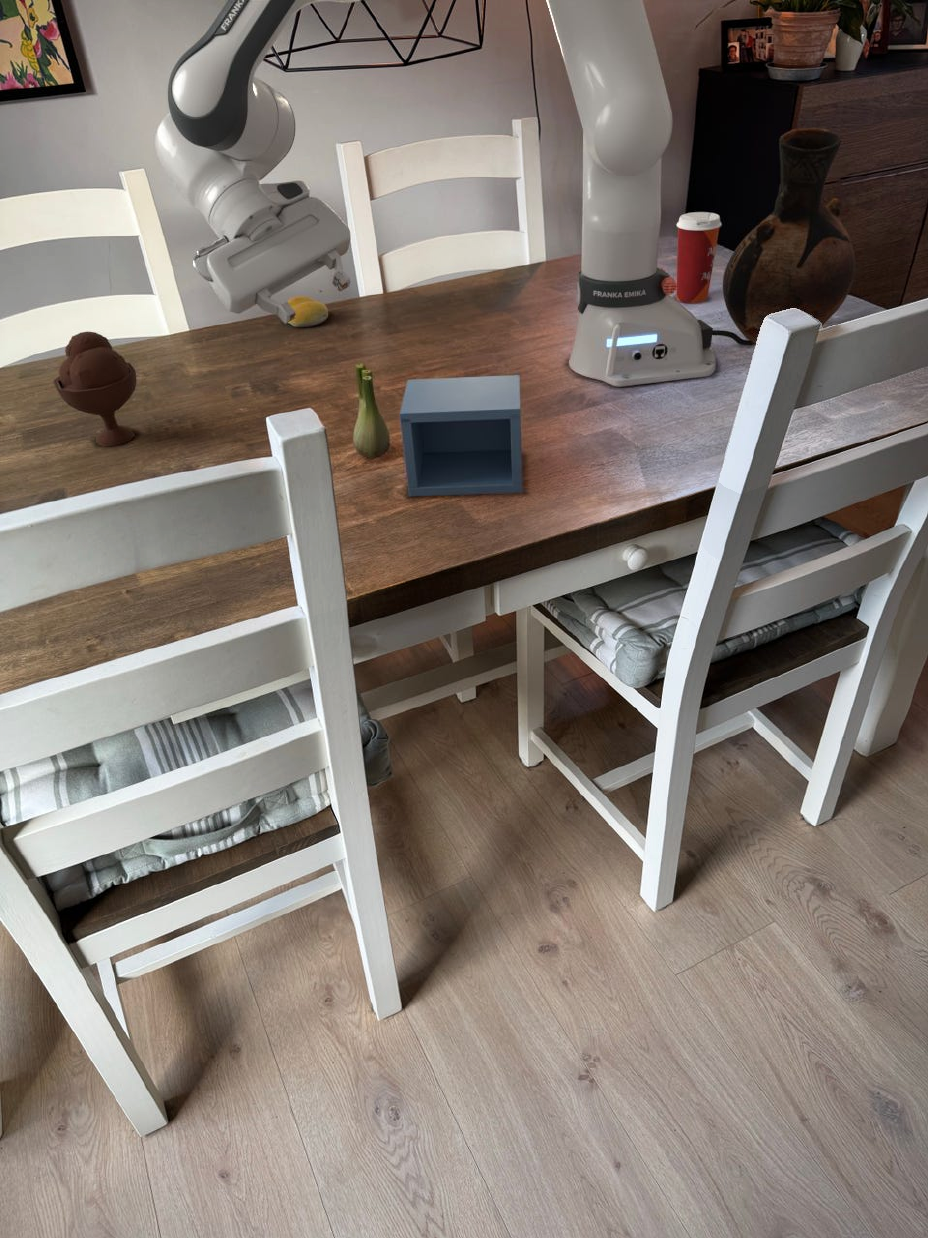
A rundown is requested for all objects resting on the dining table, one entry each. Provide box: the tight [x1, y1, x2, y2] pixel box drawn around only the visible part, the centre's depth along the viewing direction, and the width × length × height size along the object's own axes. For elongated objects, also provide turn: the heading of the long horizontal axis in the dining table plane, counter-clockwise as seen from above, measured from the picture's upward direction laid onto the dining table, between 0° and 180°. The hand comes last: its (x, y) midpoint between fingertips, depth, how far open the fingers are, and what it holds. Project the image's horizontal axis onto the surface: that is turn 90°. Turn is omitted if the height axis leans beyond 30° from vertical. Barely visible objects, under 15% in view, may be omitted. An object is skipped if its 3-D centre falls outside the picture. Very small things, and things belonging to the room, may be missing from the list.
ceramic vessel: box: [722, 127, 856, 344], centre depth 129 cm, size 21×18×30 cm
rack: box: [399, 374, 523, 497], centre depth 106 cm, size 14×10×11 cm
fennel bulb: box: [352, 362, 391, 459], centre depth 112 cm, size 6×5×12 cm
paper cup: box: [675, 211, 723, 304], centre depth 153 cm, size 8×8×14 cm
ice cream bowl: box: [52, 331, 137, 448], centre depth 120 cm, size 11×11×15 cm
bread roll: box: [287, 295, 329, 328], centre depth 160 cm, size 8×9×4 cm
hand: (318, 302), depth 113 cm, fingers open, 8 cm apart
